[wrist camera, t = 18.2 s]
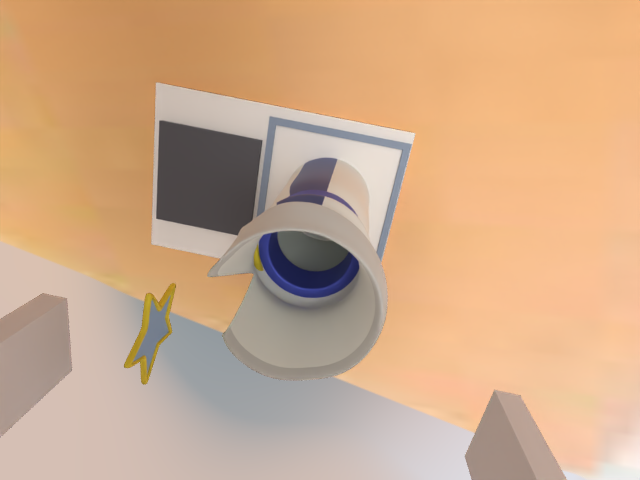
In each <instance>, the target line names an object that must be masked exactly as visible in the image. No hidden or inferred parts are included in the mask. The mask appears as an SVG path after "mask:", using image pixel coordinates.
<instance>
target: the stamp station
mask: <svg viewBox="0 0 640 480" xmlns="http://www.w3.org/2000/svg"><path fill="white" fill-rule="evenodd" d="M414 137H415V133H412V132H407V131H402V130H397V129H392V128H387V127H382V126H377V125H372V124H367V123H361V122H356V121H351V120H346V119H341V118H336V117H331V116H326V115H321V114H316V113H311V112H306V111H300V110H295V109H290V108H285V107H280V106H275V105H270V104H265V103H260V102H255V101H250V100H245V99H240V98H234V97H229V96H224V95H219V94H214V93H209V92H204V91H199V90H194V89H189V88H184V87H179V86H173V85H168V84H163V83H157V82H156V100H155V134H154V169H153V204H152V239H151V244H153V245H157V246H162V247H167V248H172V249H177V250H182V251H186V252H191V253H196V254H201V255H206V256H210V257H215V258H220V259H221V257H222V256H223V255H224V254H225V253H226V251H227V250H228V249H229V248H230V246H231V245H232V244H233V242H234V241H235V240H236V238H237V237H238V234H239V232H240V230H241V228H242V227H244V226H245V225H247V224H248V223H250V222H251V221H252V220H254V219H255V218H256V217H258V216H259V215H260V214H262V213H263V212H265V211H266V210H267V209H268V208H270V207H271V206H272V205H273V203H274V201H275V199H276V198H277V196H278V195H279V194H280V192H281V191H282V190H283V189H284V187H285V186H286V185H287V183H288V181H289V179H290V178H291V176H292V175H293V173H294V172H295V171H296V170H297V169H298V168H299V167H300V166H302V165H303V164H305V163H307V162H309V161H311V160H314V159H318V158H336V159H339V160H342V161H345V162H347V163H348V164H350V165H352V166H353V167H354V168H355V169H356V170H357V171H358V172H359V173H360V174H361V175H362V177H363V178H364V180H365V182H366V184H367V187H368V191H369V235H368V236H369V239H370V243H371V244H372V246H373V247H374V249H375V251H376V253H377V255H378V257H379V259H380V261H381V262H382V258H383V255H384V251H385V247H386V243H387V239H388V236H389V232H390V228H391V224H392V220H393V217H394V213H395V209H396V205H397V201H398V198H399V194H400V190H401V186H402V182H403V179H404V175H405V171H406V167H407V163H408V160H409V156H410V152H411V148H412V144H413V141H414ZM301 232H302V231H301ZM303 233H304V234H306V235H307V236H309V237H312V238H314V239H318V240H325V241H330V239H328V238H325V237H323V236H320V235H317V234H313V233H308V232H303Z"/></svg>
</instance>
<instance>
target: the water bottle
mask: <svg viewBox="0 0 640 480" xmlns="http://www.w3.org/2000/svg"><path fill="white" fill-rule="evenodd" d="M301 231H302V232H301ZM303 232H308V233H313V234H317V235H320V236H323V237H325V238H328V239H330V241H325V240H318V239H314V238H312V237H309V236H307V235H306V234H304V233H303ZM368 235H369V191H368V187H367V184H366V182H365V180H364V178H363V177H362V175H361V174H360V173H359V172H358V171H357V170H356V169H355V168H354V167H353V166H352V165H350V164H348V163H347V162H345V161H342V160H339V159H336V158H318V159H314V160H311V161H309V162H307V163H305V164H303V165H302V166H300V167H299V168H298V169H297V170H296V171H295V172H294V173H293V175H292V176H291V178H290V179H289V181H288V183H287V185H286V186H285V187H284V189H283V190H282V191H281V192H280V194H279V195H278V196H277V198H276V199H275V201H274V203H273V205H272V206H271V207H270V208H268V209H267V210H266V211H265V212H263V213H262V214H260V215H259V216H258V217H256V218H255V219H254V220H252V221H251V222H250V223H248V224H247V225H245V226H244V227H242V228H241V230H240V232H239V234H238V237H237V238H236V240H235V241H234V242H233V244H232V245H231V246H230V248H229V249H228V250H227V251H226V253H225V254H224V255H223V256H222V257H221V259H220V260H219V261H218V262H217V263H216V264H215V265H214V266H213V267H212V268H211V269H210V271H209V273H208V275H207V277H216V276H226V275H234V274H243V273H253V274H254V276H253V278H252V281H251V283H250V286H249V288H248V290H247V293H246V295H245V297H244V299H243V301H242V303H241V305H240V307H239V309H238V311H237V313H236V315H235V317H234V319H233V320H232V322H231V324H230V325H229V327H228V329H227V330H226V331H225V332H224V333H223V335H222V337H223V339H224V341H225V343H226V345H227V347H228V349H229V350H230V351H231V352H232V354H233V355H234V356H235V357H236V358H237V359H238V360H239V361H241V362H242V363H243V364H245V365H246V366H247V367H249V368H251V369H252V370H254V371H256V372H258V373H260V374H262V375H265V376H267V377H271V378H275V379H280V380H313V379H322V378H328V377H332V376H336V375H339V374H341V373H344V372H346V371H347V370H349V369H351V368H352V367H354V366H355V365H357V364H358V363H359V362H360V361H361V360H362V359H363V358H364V357H365V356H366V355H367V354H368V353H369V352H370V350H371V349H372V347H373V346H374V344H375V343H376V341H377V339H378V337H379V335H380V333H381V331H382V329H383V326H384V322H385V318H386V313H387V302H388V293H387V283H386V278H385V273H384V270H383V267H382V264H381V261H380V259H379V257H378V255H377V253H376V251H375V249H374V247H373V246H372V244H371V243H370V239H369V236H368ZM175 287H176V284H174V283H172V284H171V285H170V286H169V287H168V289H167V290H166V292H165V293H164V295H163V297H162V298H161V300H160V302H159V303H158V301H157V300H156V298H155V297H154V295H153V294H151V293H147V294H146V296H145V302H144V310H143V320H142V327H141V331H140V333H139V335H138V337H137V339H136V341H135V343H134V345H133V347H132V349H131V351H130V354H129V356H128V358H127V360H126V362H125V364H124V367H125V368H130V367H132V366H134V365H135V364H137V363H139V362H140V366H141V382H142V384H147V382H148V380H149V376H150V373H151V370H152V367H153V363H154V361H155V357H156V354H157V351H158V348H159V345H160V344H161V343H162V342H163V341H164V340H165V339H166V338H167V337H168V336H169V335H170V334H171V333H172V328H171V324H170V320H169V313H170V309H171V305H172V301H173V296H174V292H175Z"/></svg>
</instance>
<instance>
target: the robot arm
mask: <svg viewBox="0 0 640 480" xmlns="http://www.w3.org/2000/svg"><path fill="white" fill-rule="evenodd" d="M71 371H72V362H71V347H70V333H69V319H68V305H67V298H63V297H58V296H53V295H49V294H44V293H43V294H41V295H39V296H37V297H36V298H34V299H32V300H31V301H29V302H28V303H26V304H24V305H23V306H21V307H19V308H18V309H16V310H14V311H13V312H11V313H9V314H8V315H6V316H4V317H3V318H1V319H0V437H1V436H2V435H3V434H4V433H5V432H7V431H8V429H10V428H11V427H12V426H13V425H14V424H15V423H16V422H17V421H18V420H19V419H21V417H23V416H24V415H25V414H26V413H27V412H28V411H29V410H30V409H31V408H32V407H33V406H34V405H35V404H36V403H38V402H39V401H40V400H41V399H42V398H43V397H44V396H45V395H46V394H47V393H48V392H49V391H50V390H51V389H53V388H54V387H55V386H56V385H57V384H58V383H59V382H60V381H61V380H62V379H63V378H64V377H65V376H66V375H68V374H69V373H70V372H71ZM465 459H466V462H467V465H468V468H469V472H470V475H471V479H472V480H567V479H566V477H565V476H564V474H563V472H562V470H561V468H560V466H559V465H558V463H557V461H556V459H555V457H554V456H553V454H552V452H551V450H550V448H549V447H548V445H547V443H546V441H545V439H544V437H543V436H542V434H541V432H540V430H539V428H538V427H537V425H536V423H535V421H534V419H533V418H532V416H531V414H530V412H529V410H528V409H527V407H526V405H525V403H524V401H523V400H522V398H521V396H520V395H516V394H511V393H507V392H502V391H497V390H494V392H493V394H492V396H491V399H490V401H489V403H488V405H487V408H486V410H485V412H484V414H483V417H482V419H481V421H480V423H479V426H478V428H477V430H476V432H475V435H474V437H473V439H472V441H471V444H470V446H469V448H468V450H467V452H466V455H465Z"/></svg>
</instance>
